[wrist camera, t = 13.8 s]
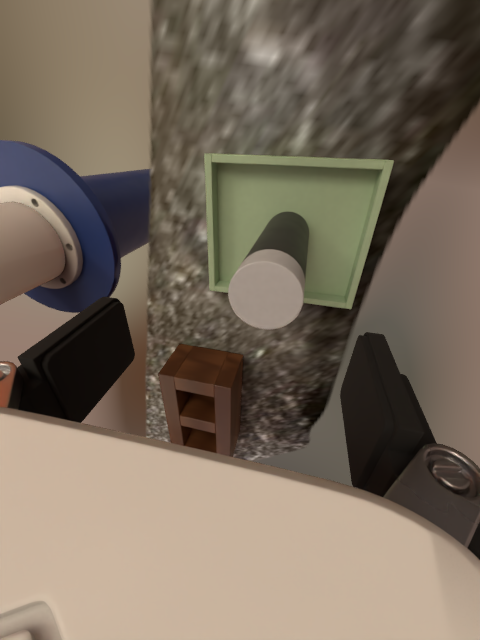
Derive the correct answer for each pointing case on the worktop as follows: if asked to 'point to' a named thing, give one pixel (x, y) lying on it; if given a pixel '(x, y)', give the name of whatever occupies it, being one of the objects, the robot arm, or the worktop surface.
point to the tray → (304, 199)
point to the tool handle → (273, 274)
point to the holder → (203, 398)
